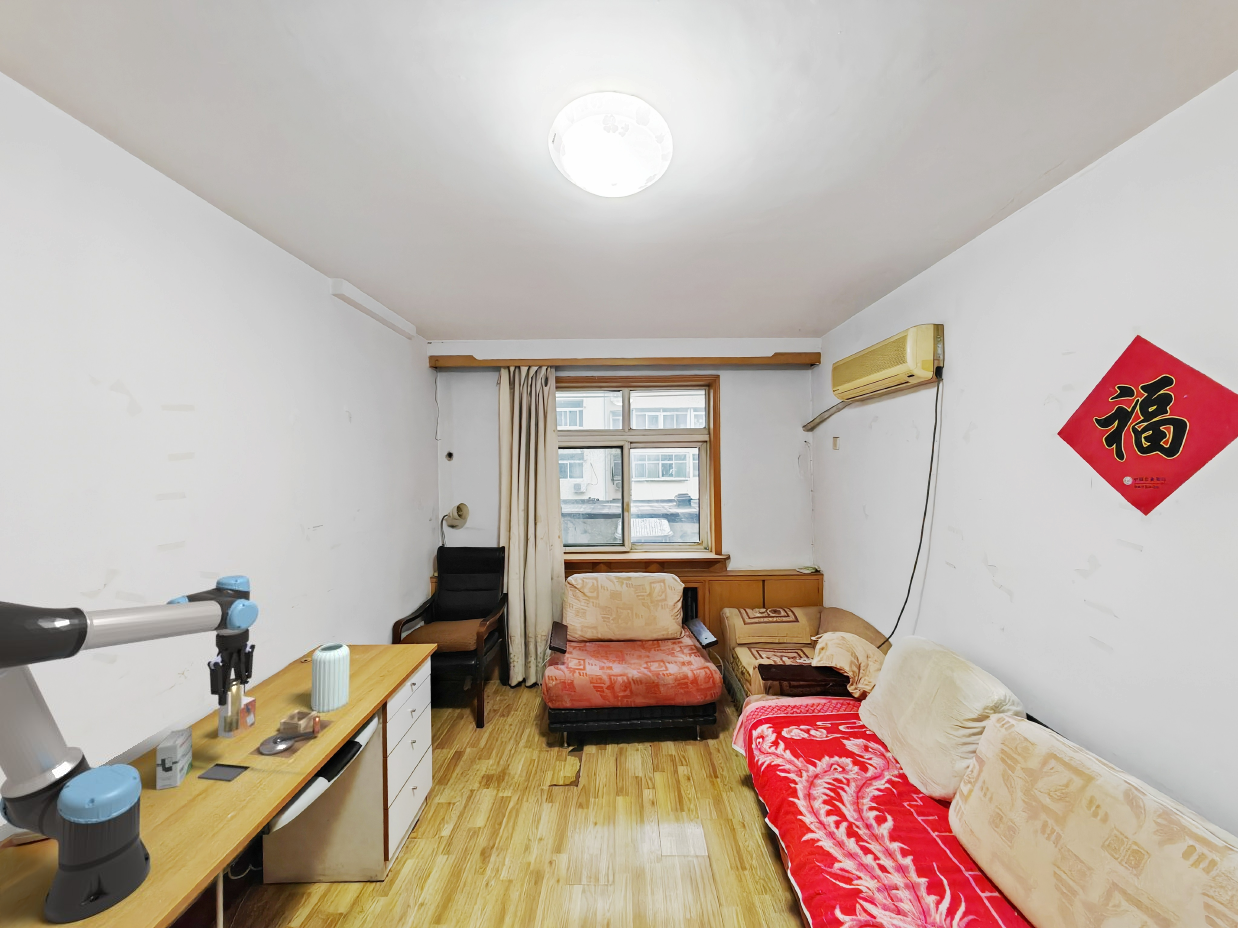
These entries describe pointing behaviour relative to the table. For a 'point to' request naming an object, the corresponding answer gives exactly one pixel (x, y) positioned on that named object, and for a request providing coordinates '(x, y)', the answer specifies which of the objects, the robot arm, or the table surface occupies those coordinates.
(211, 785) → the table surface
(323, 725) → the mount board
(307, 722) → the square socket
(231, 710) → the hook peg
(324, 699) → the vase
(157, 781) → the ink box
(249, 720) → the small box
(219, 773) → the mat
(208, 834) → the table surface
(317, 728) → the handwheel
